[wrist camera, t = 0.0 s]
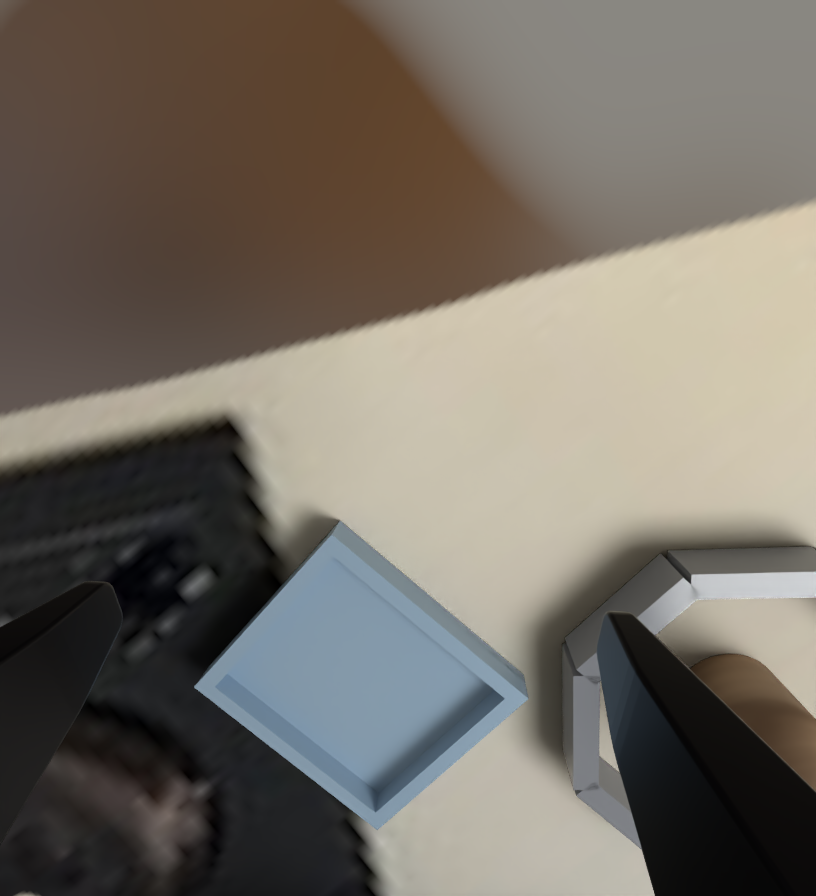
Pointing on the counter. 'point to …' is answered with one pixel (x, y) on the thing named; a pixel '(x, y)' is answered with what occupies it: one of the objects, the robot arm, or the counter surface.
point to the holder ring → (655, 604)
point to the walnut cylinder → (764, 708)
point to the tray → (362, 679)
